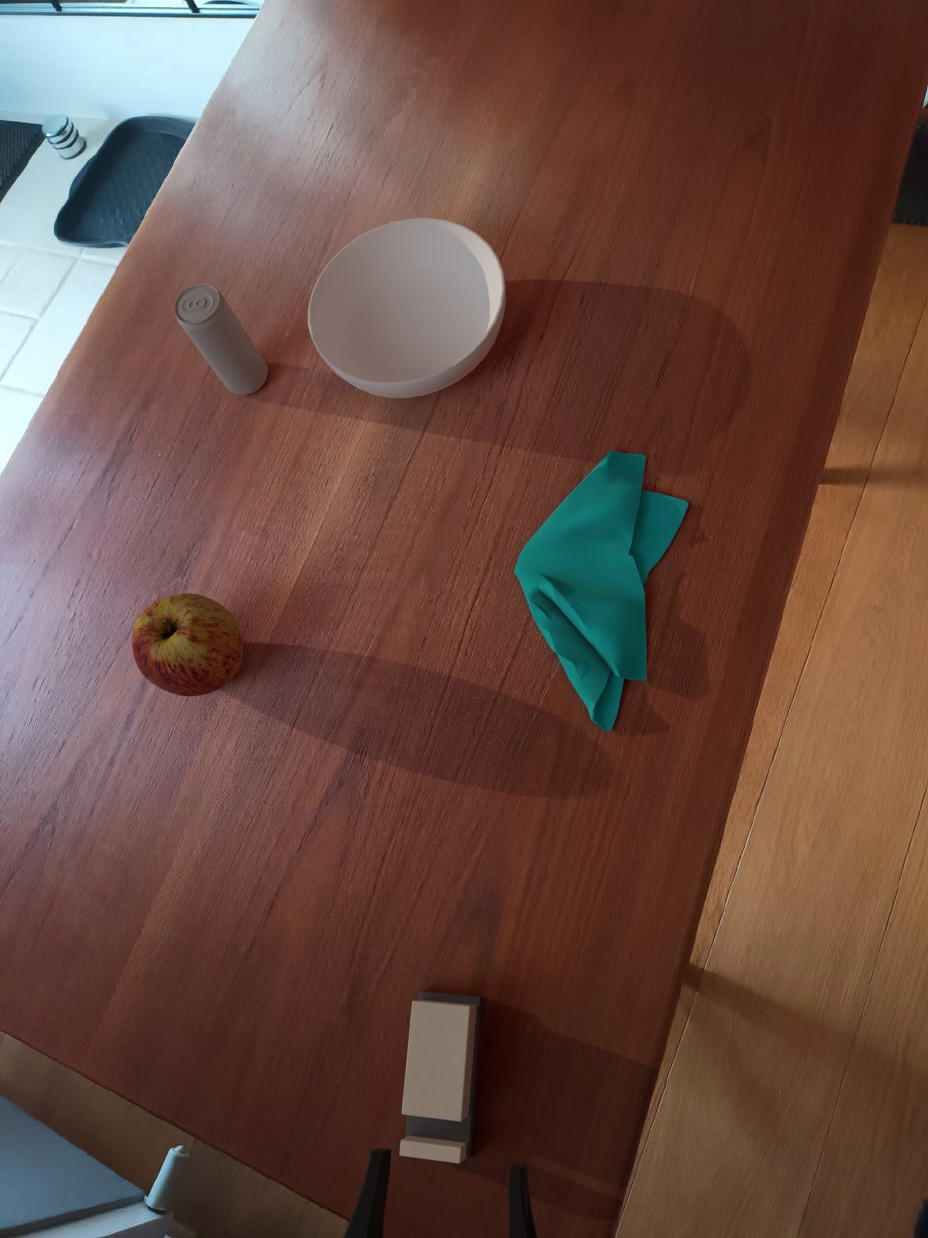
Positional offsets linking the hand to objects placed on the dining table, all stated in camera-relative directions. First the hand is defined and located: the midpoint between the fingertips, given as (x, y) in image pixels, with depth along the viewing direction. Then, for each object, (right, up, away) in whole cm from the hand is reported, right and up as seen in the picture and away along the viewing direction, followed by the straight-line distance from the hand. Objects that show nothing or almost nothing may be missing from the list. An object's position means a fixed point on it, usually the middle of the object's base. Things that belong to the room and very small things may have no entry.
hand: (449, 1157), depth 52 cm
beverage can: (-22, +54, +47) cm, 75 cm away
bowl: (-4, +58, +45) cm, 73 cm away
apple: (-22, +25, +36) cm, 50 cm away
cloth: (+12, +33, +32) cm, 48 cm away
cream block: (-1, -5, +20) cm, 21 cm away
